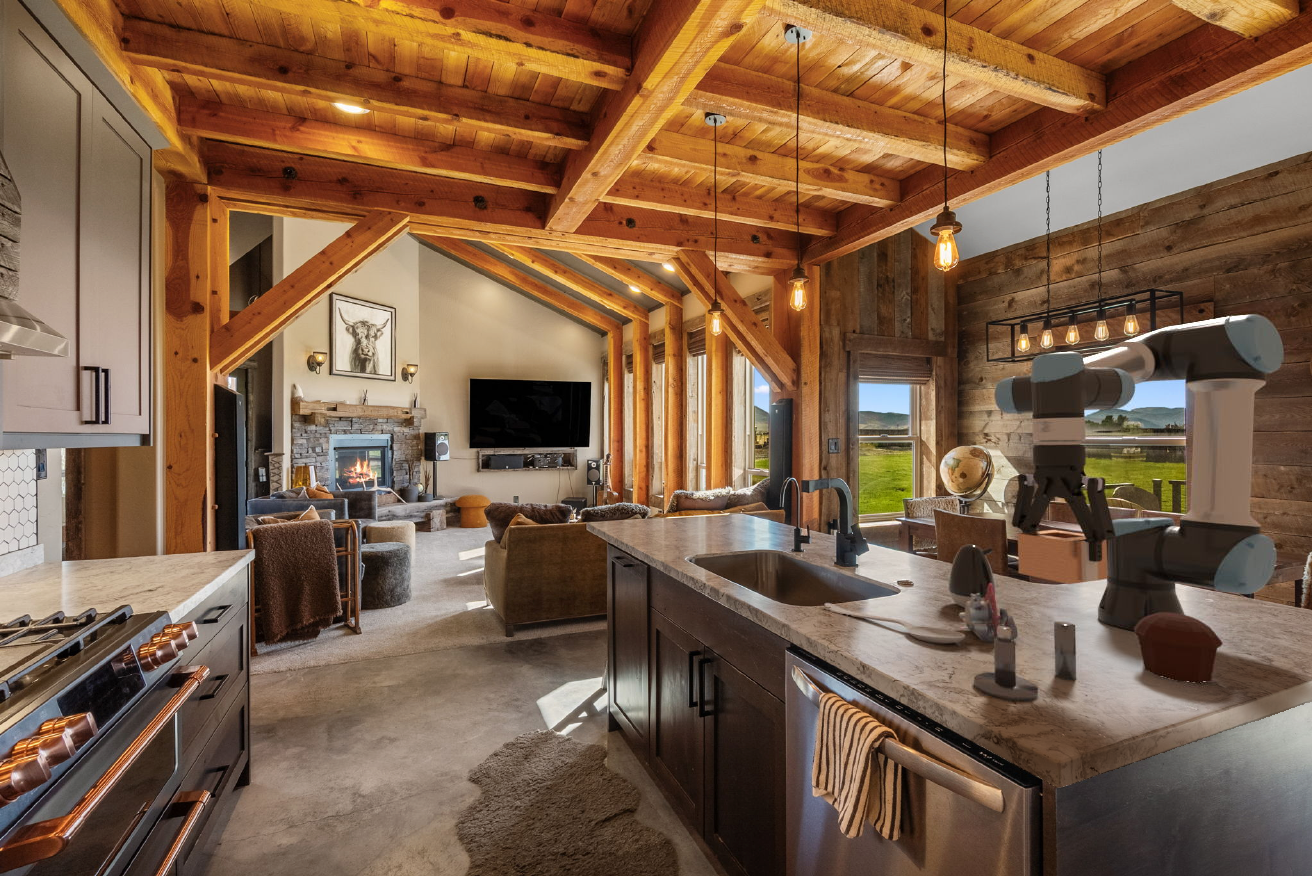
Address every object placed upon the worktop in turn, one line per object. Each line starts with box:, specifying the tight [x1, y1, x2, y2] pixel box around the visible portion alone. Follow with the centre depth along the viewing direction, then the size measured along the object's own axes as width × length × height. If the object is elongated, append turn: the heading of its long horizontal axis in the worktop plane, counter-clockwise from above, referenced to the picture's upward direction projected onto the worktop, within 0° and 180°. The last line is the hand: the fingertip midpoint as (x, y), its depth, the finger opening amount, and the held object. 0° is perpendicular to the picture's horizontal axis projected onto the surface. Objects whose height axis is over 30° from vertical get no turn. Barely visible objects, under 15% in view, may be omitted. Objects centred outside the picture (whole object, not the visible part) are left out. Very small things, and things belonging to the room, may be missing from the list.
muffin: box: [1133, 612, 1224, 684], centre depth 103 cm, size 12×11×10 cm
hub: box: [973, 626, 1039, 702], centre depth 97 cm, size 9×9×10 cm
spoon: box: [823, 602, 966, 644], centre depth 131 cm, size 35×8×3 cm, turn 32°
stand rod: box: [1053, 621, 1077, 681], centre depth 102 cm, size 3×3×9 cm
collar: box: [1017, 529, 1107, 585], centre depth 102 cm, size 9×9×7 cm
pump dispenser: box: [948, 543, 997, 609], centre depth 145 cm, size 10×10×15 cm
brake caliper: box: [958, 583, 1018, 643], centre depth 124 cm, size 11×11×12 cm
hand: (1060, 574), depth 102 cm, fingers closed on collar, 9 cm apart
